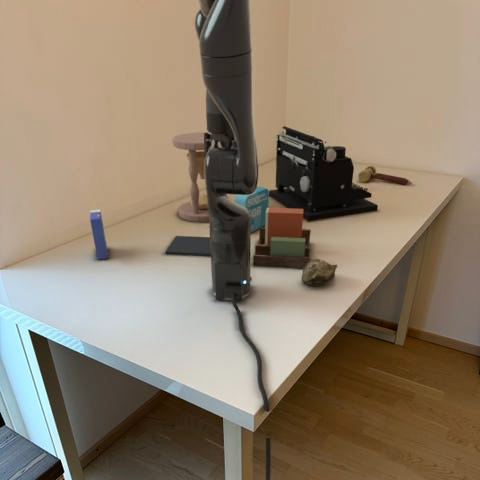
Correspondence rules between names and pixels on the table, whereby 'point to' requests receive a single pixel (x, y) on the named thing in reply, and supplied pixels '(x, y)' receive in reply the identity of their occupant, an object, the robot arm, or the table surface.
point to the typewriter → (316, 178)
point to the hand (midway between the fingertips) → (224, 179)
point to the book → (283, 223)
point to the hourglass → (194, 176)
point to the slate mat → (190, 246)
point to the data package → (255, 206)
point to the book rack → (266, 260)
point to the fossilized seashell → (318, 272)
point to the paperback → (287, 246)
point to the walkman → (98, 234)
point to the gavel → (380, 176)
